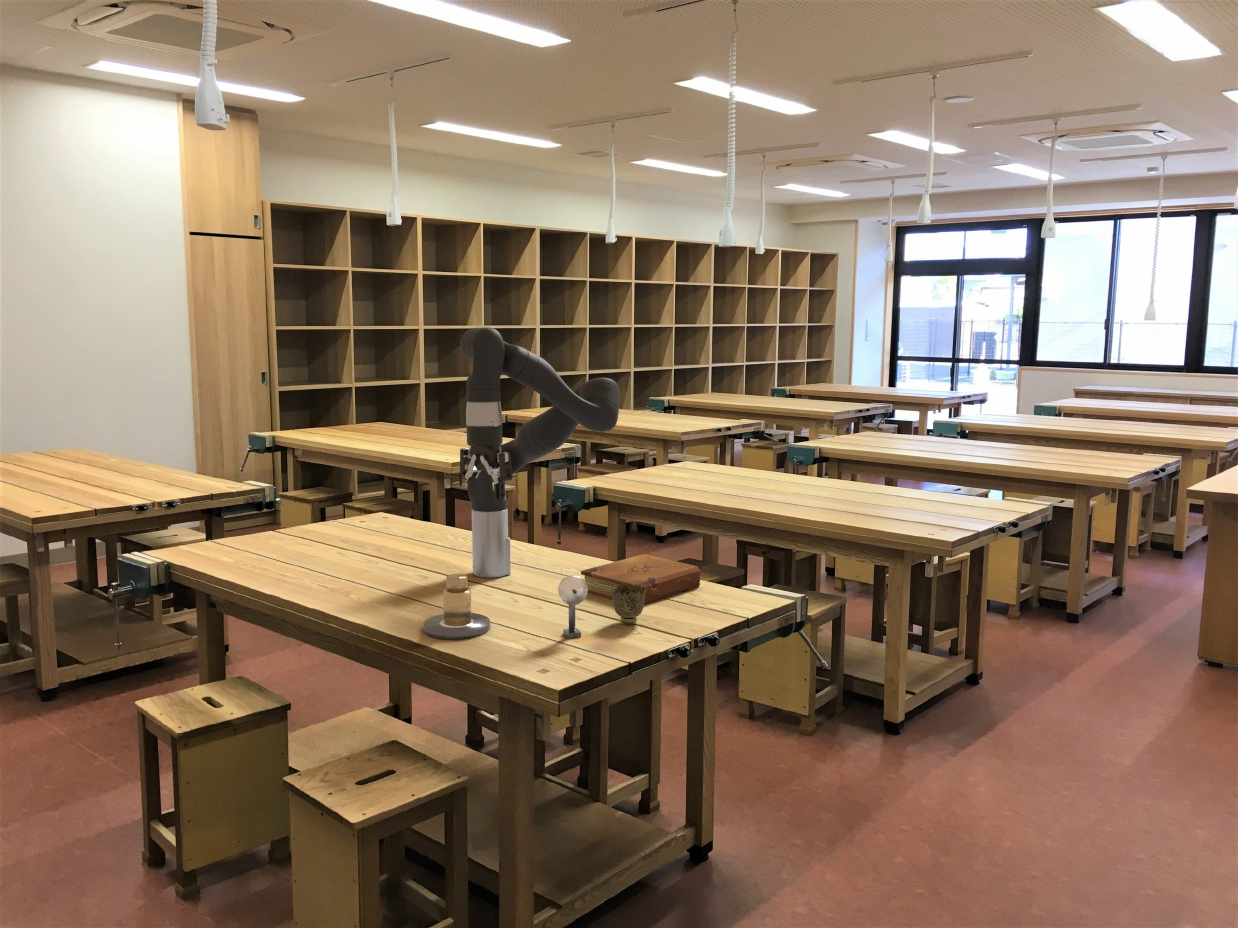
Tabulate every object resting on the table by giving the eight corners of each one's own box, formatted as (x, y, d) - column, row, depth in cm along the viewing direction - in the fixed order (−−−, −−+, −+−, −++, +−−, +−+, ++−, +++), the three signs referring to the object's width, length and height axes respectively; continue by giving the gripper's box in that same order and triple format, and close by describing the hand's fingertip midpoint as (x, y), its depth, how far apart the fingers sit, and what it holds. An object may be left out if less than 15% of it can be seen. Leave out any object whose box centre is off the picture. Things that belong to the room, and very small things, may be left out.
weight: (468, 616, 206) (467, 571, 204) (473, 624, 201) (472, 578, 199) (442, 619, 204) (440, 574, 203) (446, 627, 199) (445, 581, 197)
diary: (637, 609, 219) (637, 585, 218) (580, 593, 231) (580, 570, 230) (700, 588, 235) (700, 565, 234) (643, 574, 248) (643, 553, 247)
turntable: (483, 616, 211) (482, 609, 211) (496, 635, 198) (496, 628, 198) (419, 622, 207) (419, 615, 206) (428, 642, 194) (428, 635, 193)
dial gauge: (583, 631, 201) (583, 572, 199) (589, 637, 197) (589, 576, 195) (556, 634, 199) (555, 574, 197) (561, 640, 195) (561, 579, 193)
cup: (626, 615, 212) (626, 580, 211) (652, 622, 207) (652, 586, 206) (604, 623, 206) (604, 588, 205) (631, 630, 202) (631, 594, 200)
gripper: (448, 422, 202) (451, 497, 205) (492, 426, 193) (494, 504, 195) (476, 419, 208) (478, 492, 210) (520, 423, 199) (521, 499, 201)
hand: (486, 498), depth 203 cm, fingers open, 8 cm apart
